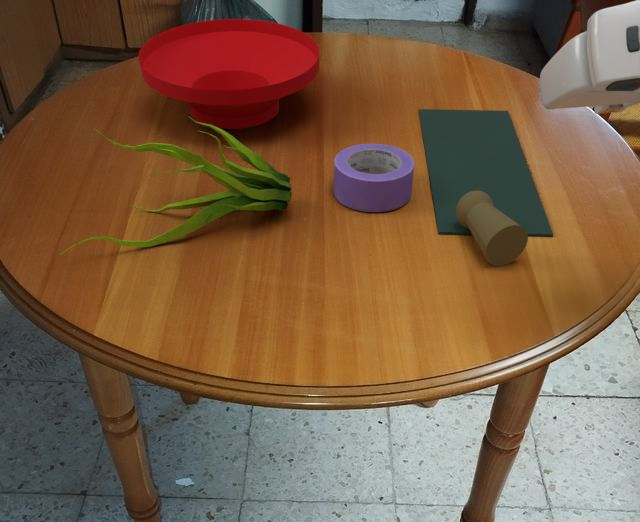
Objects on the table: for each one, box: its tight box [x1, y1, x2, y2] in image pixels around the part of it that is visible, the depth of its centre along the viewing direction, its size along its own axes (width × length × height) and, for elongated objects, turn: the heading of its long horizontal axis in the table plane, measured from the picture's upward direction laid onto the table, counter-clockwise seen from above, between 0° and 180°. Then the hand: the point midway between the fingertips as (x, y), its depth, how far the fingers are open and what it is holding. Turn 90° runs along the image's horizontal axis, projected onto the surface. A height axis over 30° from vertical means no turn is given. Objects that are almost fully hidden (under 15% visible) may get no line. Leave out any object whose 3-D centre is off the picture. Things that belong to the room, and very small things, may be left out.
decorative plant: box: [58, 115, 293, 256], centre depth 89 cm, size 18×30×15 cm, turn 89°
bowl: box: [137, 18, 321, 130], centre depth 117 cm, size 30×30×10 cm
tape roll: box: [333, 143, 415, 213], centre depth 100 cm, size 12×12×5 cm
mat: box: [418, 108, 554, 238], centre depth 108 cm, size 40×16×1 cm, turn 178°
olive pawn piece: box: [455, 191, 529, 267], centre depth 91 cm, size 6×6×11 cm
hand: (606, 106), depth 74 cm, fingers closed
